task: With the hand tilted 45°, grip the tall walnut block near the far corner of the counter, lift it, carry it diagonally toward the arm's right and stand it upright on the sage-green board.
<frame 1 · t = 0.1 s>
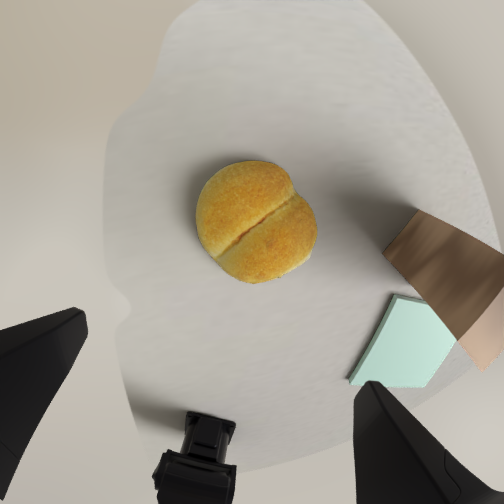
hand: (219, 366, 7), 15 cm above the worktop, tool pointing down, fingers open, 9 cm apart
green board: (412, 346, 24), on the worktop
bread roll: (257, 219, 21), on the worktop
walnut block: (417, 249, 20), on the worktop
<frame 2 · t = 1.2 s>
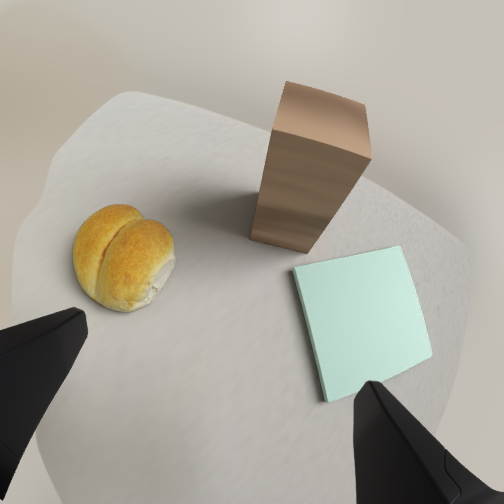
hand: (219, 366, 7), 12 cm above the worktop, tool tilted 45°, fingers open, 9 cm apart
green board: (368, 318, 21), on the worktop
bread roll: (127, 261, 21), on the worktop
walnut block: (283, 221, 24), on the worktop
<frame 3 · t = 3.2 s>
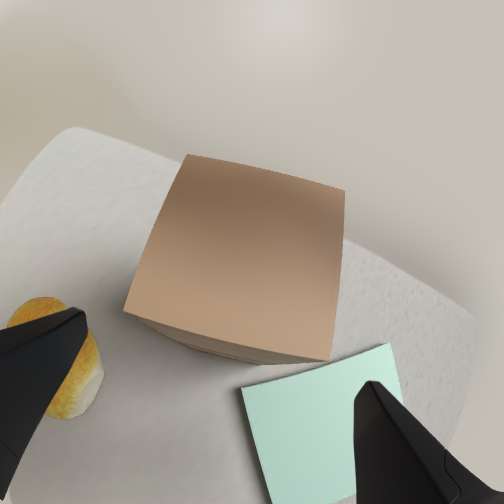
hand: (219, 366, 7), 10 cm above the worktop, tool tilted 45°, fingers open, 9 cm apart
green board: (335, 436, 15), on the worktop
bread roll: (60, 359, 15), on the worktop
walnut block: (233, 321, 18), on the worktop
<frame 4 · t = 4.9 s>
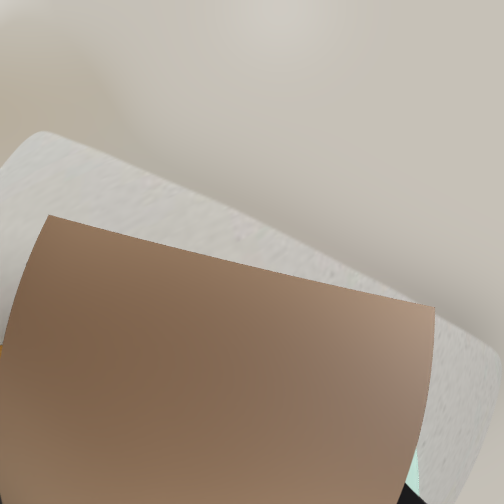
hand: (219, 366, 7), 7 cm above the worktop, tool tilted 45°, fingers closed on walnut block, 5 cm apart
walnut block: (216, 389, 13), on the worktop, touching gripper
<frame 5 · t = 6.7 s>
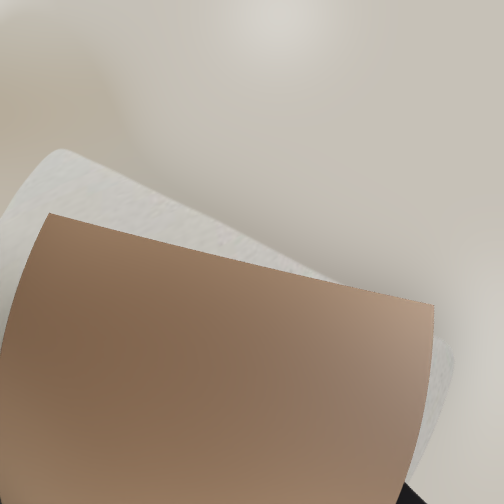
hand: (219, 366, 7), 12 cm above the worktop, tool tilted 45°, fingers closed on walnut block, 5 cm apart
walnut block: (216, 389, 13), point 6 cm above the worktop, touching gripper
when the fingers open (9 cm above the worktop, at t = 8.7 s): walnut block drops 1 cm, resting on green board.
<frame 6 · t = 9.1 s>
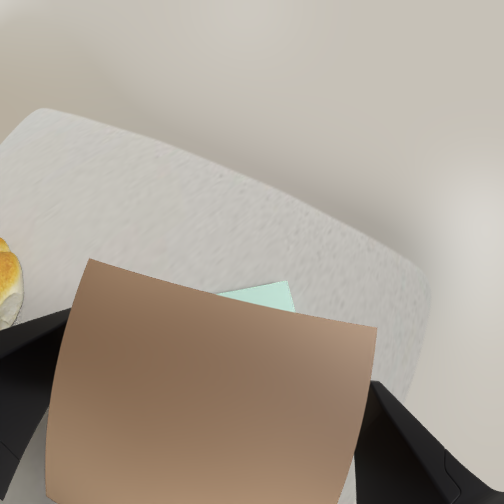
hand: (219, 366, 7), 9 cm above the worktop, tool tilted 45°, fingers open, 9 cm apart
green board: (218, 385, 15), on the worktop
walnut block: (217, 386, 14), point 1 cm above the worktop, touching green board
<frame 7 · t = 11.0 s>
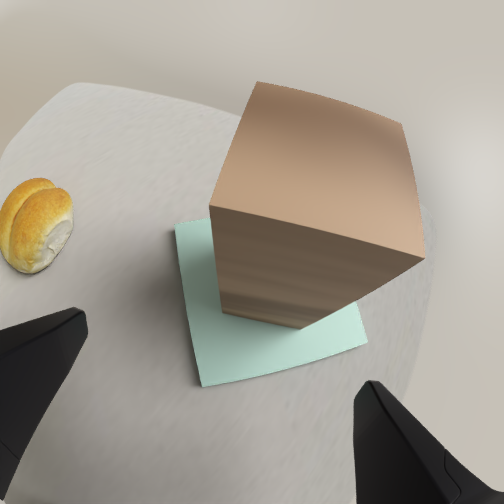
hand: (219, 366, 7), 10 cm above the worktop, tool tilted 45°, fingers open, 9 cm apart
green board: (268, 287, 18), on the worktop
bread roll: (41, 230, 19), on the worktop
walnut block: (269, 284, 17), point 1 cm above the worktop, touching green board
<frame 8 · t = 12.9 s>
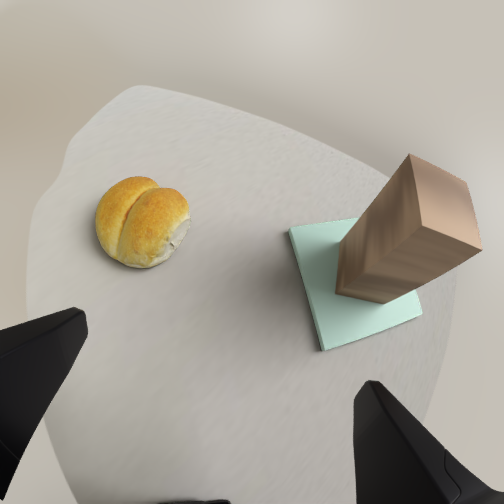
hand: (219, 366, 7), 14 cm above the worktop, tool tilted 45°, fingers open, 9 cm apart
green board: (359, 275, 24), on the worktop
bread roll: (145, 226, 24), on the worktop
walnut block: (362, 272, 23), point 1 cm above the worktop, touching green board
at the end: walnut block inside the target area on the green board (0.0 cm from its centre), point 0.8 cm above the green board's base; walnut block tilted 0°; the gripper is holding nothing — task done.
